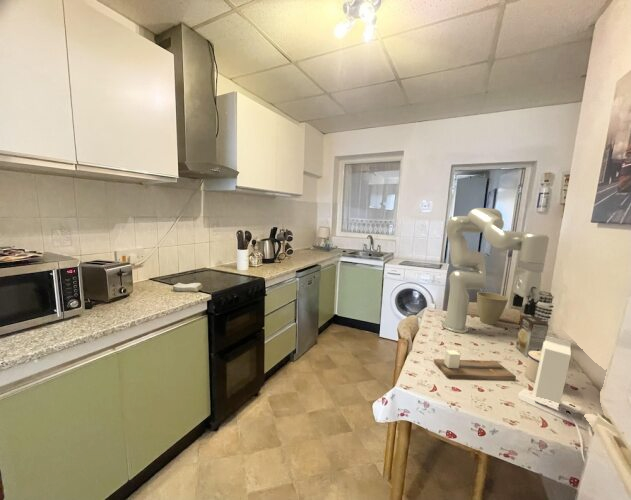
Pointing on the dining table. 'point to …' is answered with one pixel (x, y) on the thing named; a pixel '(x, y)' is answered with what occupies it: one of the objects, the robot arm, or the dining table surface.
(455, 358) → the fader tab
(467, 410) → the dining table surface
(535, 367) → the teacup with lid
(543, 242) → the robot arm
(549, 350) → the milk
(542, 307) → the decorative candle
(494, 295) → the plant pot
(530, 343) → the coffee box
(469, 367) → the wooden board
